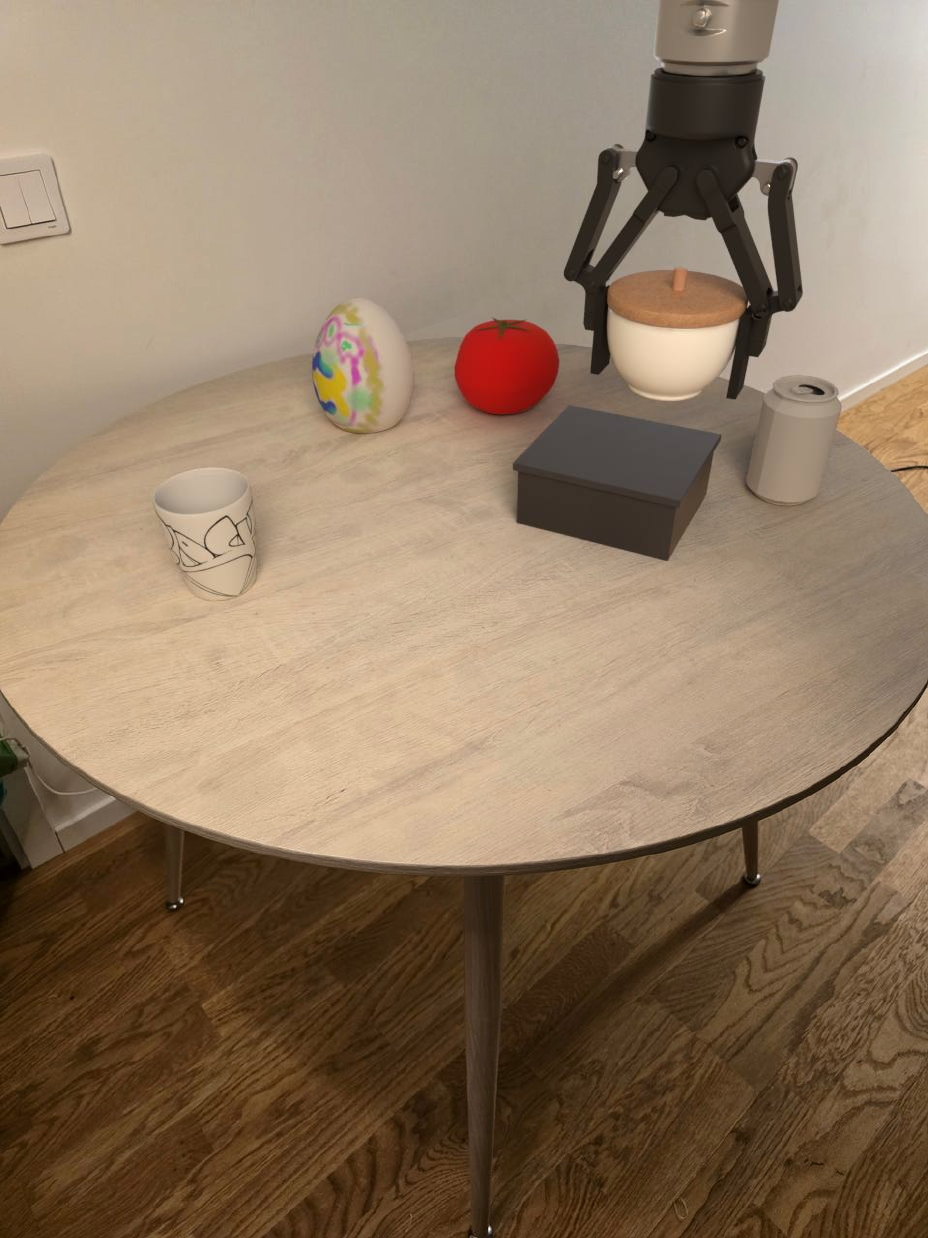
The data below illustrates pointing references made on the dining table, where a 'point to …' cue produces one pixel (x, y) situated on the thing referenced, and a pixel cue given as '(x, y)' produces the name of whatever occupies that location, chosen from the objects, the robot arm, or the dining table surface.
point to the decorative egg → (362, 368)
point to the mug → (210, 530)
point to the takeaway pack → (615, 480)
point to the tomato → (506, 366)
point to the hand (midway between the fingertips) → (665, 380)
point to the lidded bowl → (673, 330)
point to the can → (793, 439)
